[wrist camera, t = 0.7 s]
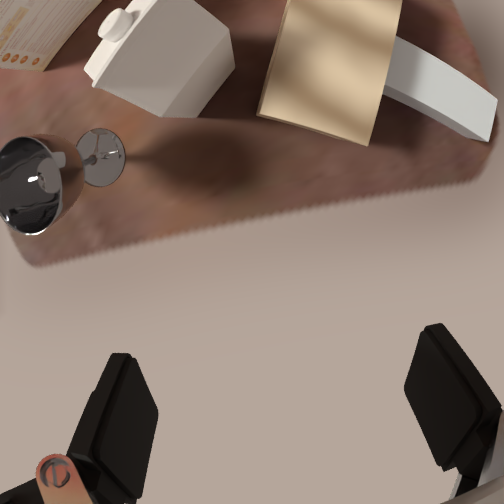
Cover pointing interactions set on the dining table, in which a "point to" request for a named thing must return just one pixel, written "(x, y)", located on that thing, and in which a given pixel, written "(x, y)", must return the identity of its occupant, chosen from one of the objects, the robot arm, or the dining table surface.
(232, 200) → the dining table surface
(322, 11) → the beige wooden bench
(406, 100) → the white rectangular block
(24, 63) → the coffeecake box
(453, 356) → the robot arm
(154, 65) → the milk carton
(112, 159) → the wine glass
